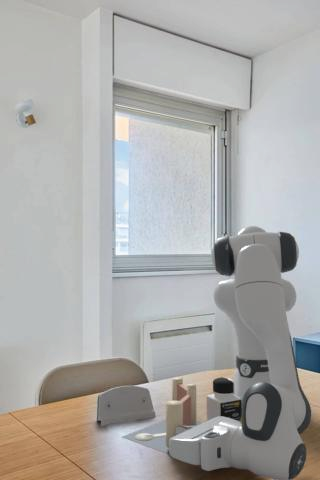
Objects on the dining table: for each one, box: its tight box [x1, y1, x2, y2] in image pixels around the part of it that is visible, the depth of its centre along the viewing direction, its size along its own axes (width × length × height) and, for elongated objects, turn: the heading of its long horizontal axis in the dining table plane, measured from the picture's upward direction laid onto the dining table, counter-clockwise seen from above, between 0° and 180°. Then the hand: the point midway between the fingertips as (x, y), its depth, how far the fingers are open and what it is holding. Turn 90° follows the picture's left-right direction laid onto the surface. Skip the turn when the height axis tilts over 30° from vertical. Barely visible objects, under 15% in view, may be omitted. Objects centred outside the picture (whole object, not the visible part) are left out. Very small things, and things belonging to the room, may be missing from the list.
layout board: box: [121, 419, 204, 456], centre depth 122 cm, size 22×24×1 cm
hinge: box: [96, 385, 157, 427], centre depth 137 cm, size 17×5×10 cm, turn 112°
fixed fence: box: [171, 377, 197, 426], centre depth 131 cm, size 14×3×12 cm, turn 18°
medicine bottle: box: [206, 376, 242, 424], centre depth 133 cm, size 7×7×12 cm
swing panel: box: [165, 395, 191, 448], centre depth 118 cm, size 13×4×10 cm, turn 158°
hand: (178, 429), depth 112 cm, fingers closed
